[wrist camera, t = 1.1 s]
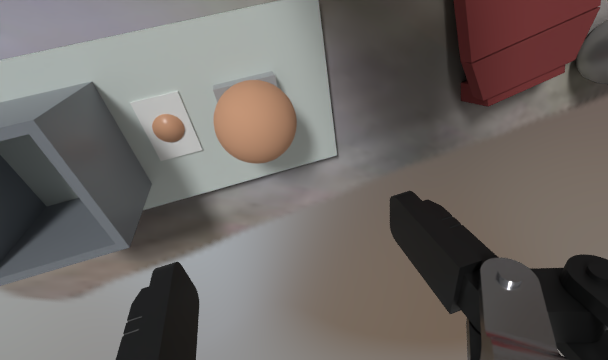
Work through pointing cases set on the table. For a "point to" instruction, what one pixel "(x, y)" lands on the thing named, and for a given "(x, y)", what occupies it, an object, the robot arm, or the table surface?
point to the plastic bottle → (595, 55)
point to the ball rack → (143, 126)
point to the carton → (517, 43)
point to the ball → (255, 121)
